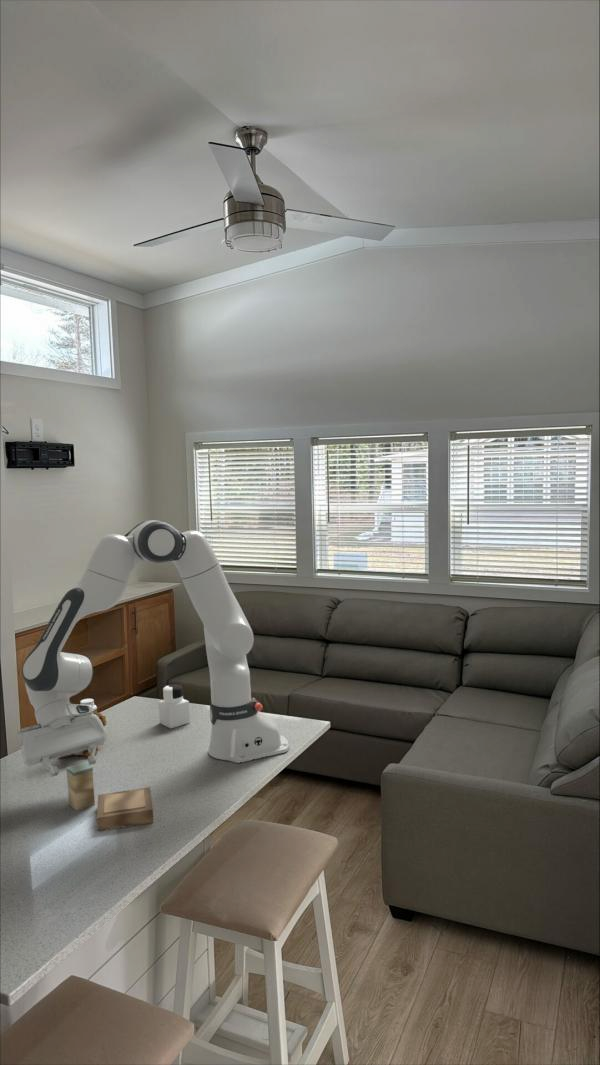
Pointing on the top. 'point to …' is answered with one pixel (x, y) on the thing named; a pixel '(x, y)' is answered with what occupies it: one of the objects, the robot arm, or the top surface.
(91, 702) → the supplement bottle
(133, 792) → the base slab
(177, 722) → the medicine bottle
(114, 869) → the top surface
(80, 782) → the tan tall block
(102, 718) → the stuffed squirrel
